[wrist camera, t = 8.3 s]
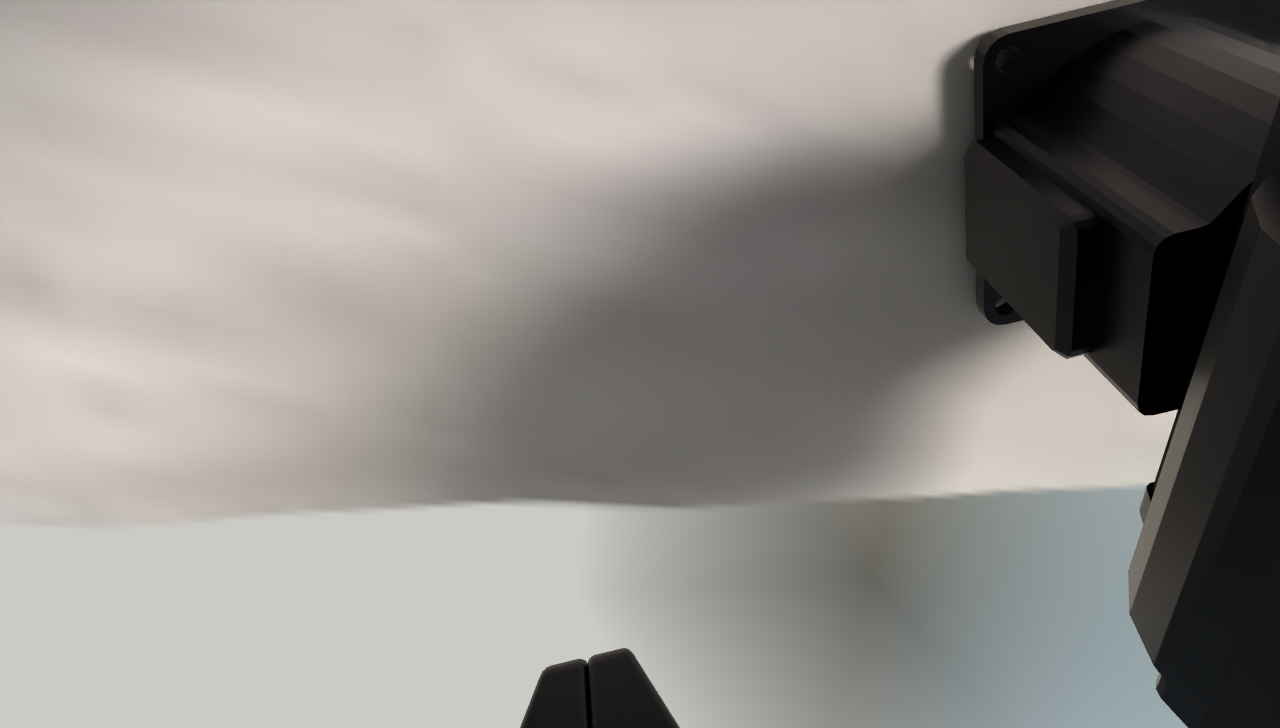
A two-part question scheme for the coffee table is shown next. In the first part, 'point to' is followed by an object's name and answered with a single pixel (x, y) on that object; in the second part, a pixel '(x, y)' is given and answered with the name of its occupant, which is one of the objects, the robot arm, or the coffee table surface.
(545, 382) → the coffee table surface
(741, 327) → the coffee table surface
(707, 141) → the coffee table surface
